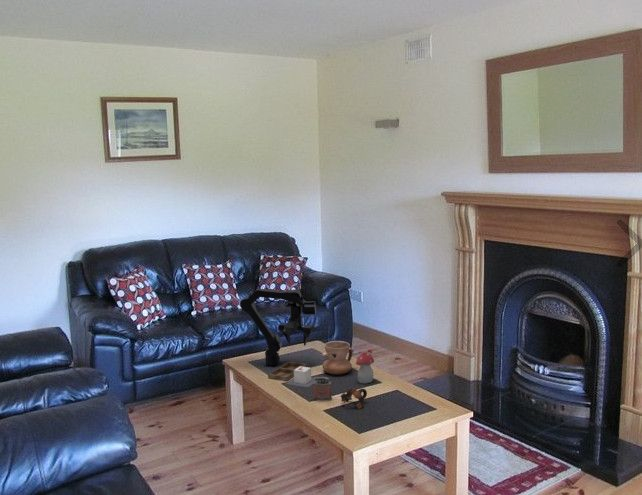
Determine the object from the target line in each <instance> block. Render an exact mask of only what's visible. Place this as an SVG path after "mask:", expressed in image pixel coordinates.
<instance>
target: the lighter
mask: <svg viewBox="0 0 642 495" xmlns="http://www.w3.org/2000/svg"><path fill="white" fill-rule="evenodd" d="M314 378H315V381H316V382H313V384H312V385H313V400H314V401H321V402H323V401H324V402H325V401H331V400H333V398H332V397H333V396H332V382H331V381H330V380H329V377H325V376H321V377H320V376H315V377H314Z"/></svg>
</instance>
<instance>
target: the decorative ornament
mask: <svg viewBox="0 0 642 495" xmlns="http://www.w3.org/2000/svg"><path fill="white" fill-rule="evenodd" d="M372 353H373V350H372V349H367V352H363V353H361V354H360V355H358V357H357V358H356V361H355V364H356V365H357V366H360V367H359V369H358V370H357V376H356V380H357V383H358V384H365V385H366V384H369V383H372V382H373V380H374V379H373V378H374V370H373V368H372V366H371V365H372V364H373V363H375V359H374V357H373V355H372Z"/></svg>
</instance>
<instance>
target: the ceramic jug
mask: <svg viewBox="0 0 642 495" xmlns="http://www.w3.org/2000/svg"><path fill="white" fill-rule="evenodd" d="M350 346H351V345H350V343H349V342H347V341H342V340H331V341H328V342H325V343H324V350H325V351H324V352H323V353H322V354H321V355H322V357H325V356H327V358H328V359H326V360H325V361H323V364H322V369H323V371H324V372H326V373H327V374H330V375H336V376H337V375H343V374H344V375H345V374H347V373H349V372H350V371H351V370H352V369H353V368H352V367H353V365H352V363H351V360H352V357H353V354H354V352H353V349H352V347H350ZM347 355H348V356H347Z"/></svg>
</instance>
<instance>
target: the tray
mask: <svg viewBox="0 0 642 495" xmlns="http://www.w3.org/2000/svg"><path fill="white" fill-rule="evenodd" d="M299 366H302V367H308V363H303V362H302V363H301V362H294V361H287V362H286V363H284V364H282V365H280V367H277V368H276V369H274V370H272V371H271V372H270V373H268V374H267V378H268V380H269V379H270V380H275V381H281V382H289V381H290V380H292V379H293V378H294V370H295V369H296V368H298V367H299Z"/></svg>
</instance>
